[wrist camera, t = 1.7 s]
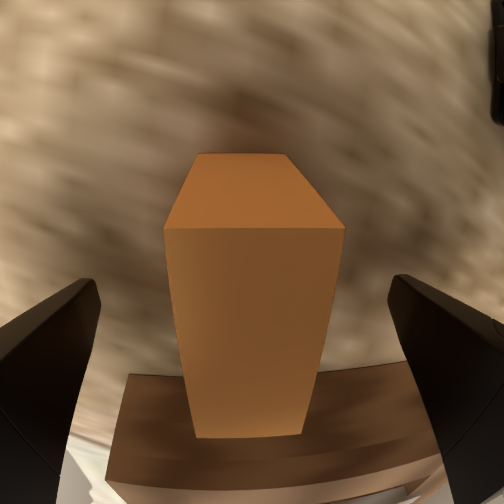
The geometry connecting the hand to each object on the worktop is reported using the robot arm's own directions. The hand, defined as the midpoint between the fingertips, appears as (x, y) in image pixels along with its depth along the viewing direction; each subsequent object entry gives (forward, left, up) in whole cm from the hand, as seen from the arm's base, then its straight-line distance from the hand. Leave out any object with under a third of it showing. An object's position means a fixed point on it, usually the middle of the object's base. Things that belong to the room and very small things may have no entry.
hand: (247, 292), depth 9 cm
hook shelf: (-4, +16, -4) cm, 17 cm away
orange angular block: (0, 0, -4) cm, 4 cm away
